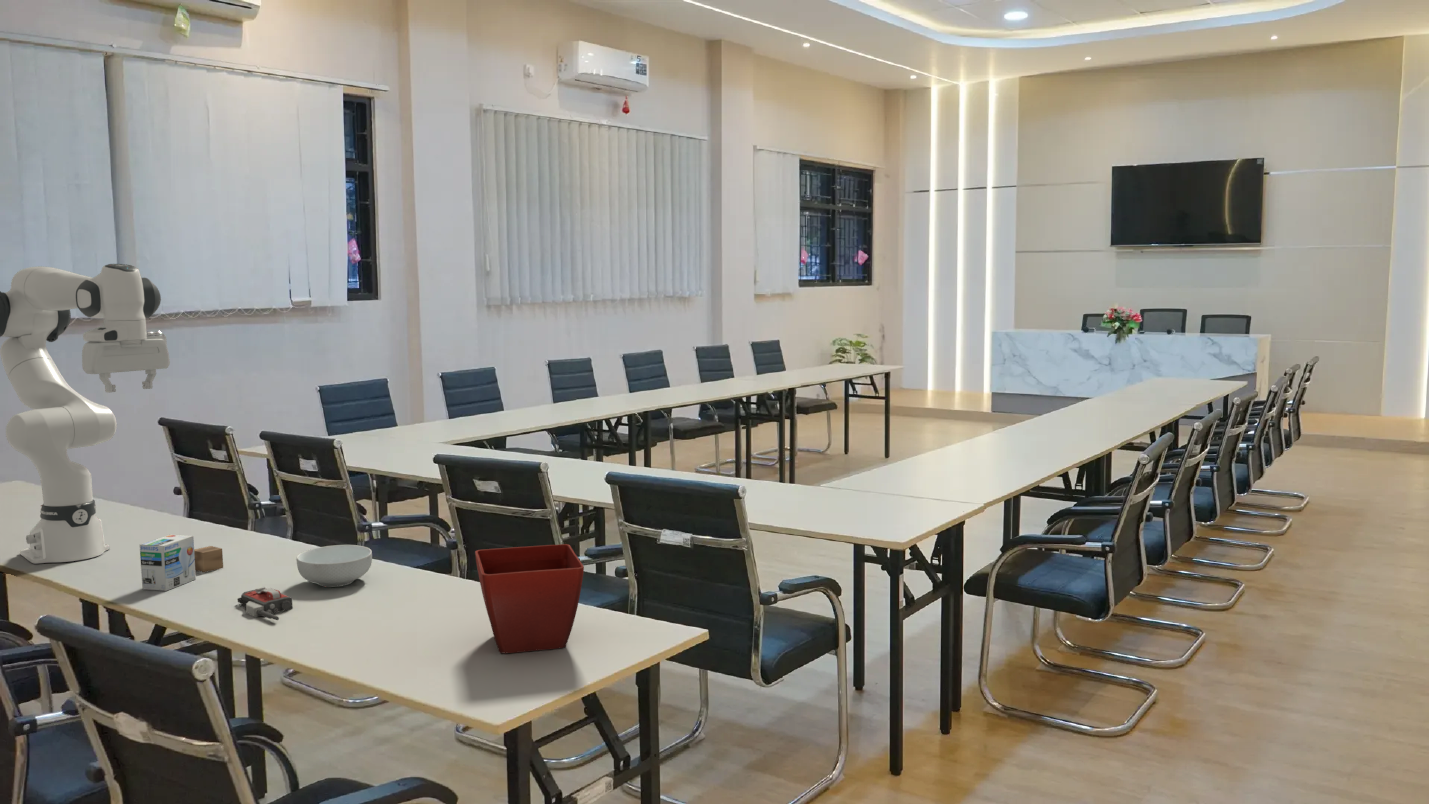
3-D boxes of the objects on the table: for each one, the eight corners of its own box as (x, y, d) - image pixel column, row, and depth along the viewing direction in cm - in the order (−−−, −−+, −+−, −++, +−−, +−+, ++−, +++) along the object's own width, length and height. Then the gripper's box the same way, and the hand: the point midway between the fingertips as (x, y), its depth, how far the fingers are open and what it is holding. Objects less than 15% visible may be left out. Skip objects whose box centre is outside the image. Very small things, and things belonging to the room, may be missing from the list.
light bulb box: (166, 591, 249) (163, 545, 248) (140, 590, 250) (137, 544, 249) (197, 579, 259) (194, 535, 258) (172, 577, 261) (169, 533, 260)
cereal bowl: (281, 587, 252) (280, 557, 252) (334, 570, 267) (333, 541, 266) (336, 596, 245) (335, 565, 244) (388, 577, 260) (387, 548, 259)
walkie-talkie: (228, 607, 238) (272, 626, 225) (227, 588, 237) (271, 605, 224) (266, 598, 244) (312, 616, 231) (265, 579, 244) (311, 596, 231)
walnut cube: (192, 569, 268) (191, 549, 268) (212, 565, 272) (210, 545, 272) (204, 572, 265) (202, 552, 265) (223, 568, 270) (222, 548, 269)
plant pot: (586, 652, 207) (584, 566, 205) (484, 662, 202) (482, 574, 200) (570, 622, 225) (569, 543, 224) (476, 631, 220) (474, 550, 218)
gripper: (156, 330, 269) (160, 386, 270) (75, 334, 251) (80, 393, 252) (173, 330, 266) (177, 387, 267) (93, 334, 248) (97, 394, 249)
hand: (129, 390), depth 259 cm, fingers open, 8 cm apart
